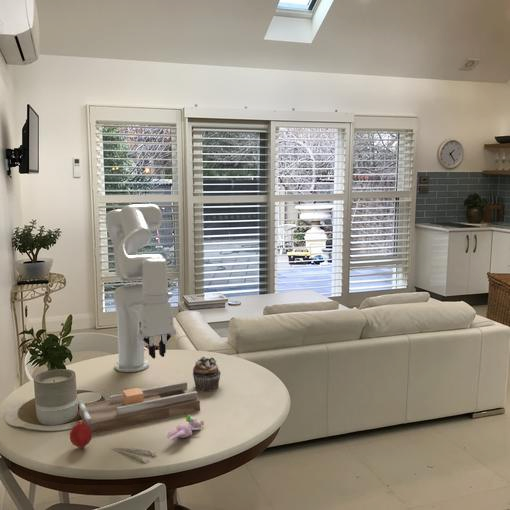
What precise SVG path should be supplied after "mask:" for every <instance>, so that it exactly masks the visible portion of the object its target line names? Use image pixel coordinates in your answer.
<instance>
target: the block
mask: <svg viewBox="0 0 510 510" xmlns="http://www.w3.org/2000/svg"><path fill="white" fill-rule="evenodd" d="M141 390H142V389H141V388H140V387H136V388H135V387H134V388H129V389H124V390H122V394H123V403H124V404H125V405H130V404H135V403H140V402H144V396H143V392H142V391H141Z"/></svg>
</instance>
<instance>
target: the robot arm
mask: <svg viewBox="0 0 510 510" xmlns="http://www.w3.org/2000/svg"><path fill="white" fill-rule="evenodd" d="M162 222H163V213H162V210H161V209H160V207H159V206H158V205H157V204H154V203H146V204H145V203H142V204H141V203H140V204H139V203H138V204H137V203H136V204H127V205H125V206H124V207H122V208H116V209H112V210H110V211H108V212H107V213H106V215H105V226H106V227H105V228H106V231H107V233H108V236H109V239H110V240H111V243H112V247H113V257H114V268H115V269H114V270H115V275H116V278H117V279H118V281H121V282H137V281H142V283H138V284H137V283H135V284H126V285H121V286H119V287H116V289H114V291H113V302H114V308H115V312H116V313H115V315H116V326H117V327H116V328H117V347H118V349H117V351H118V361H117V362H116V363H115V364H114V369H115V370H116V371H119V372H121V373H123V372H124V373H134V372H140V371H142V370H145V369H147V368H148V367H149V366H150V362H149V360H148V359H145V343H146V344H147V346H148V355H149V357H151V358H152V359H156V345H155V344H154V337H156V336H157V337H158V336H159V337H160V341H159V342H158V352H159V353H158V354H159V355H160V357H162V358H164V357H165V354H166V353H167V351H166V348H167V347H166V344H167V343H168V341H169V340H170V339H171V337H172V338H173V336H176V334H177V330H176V328H175V324H174V317H173V314H174V313H173V309H172V305H171V301H170V300H169V299H170V298H173V293H172V292H169V288H168V287H169V285H168V282H169V281H168V262H167V260H166V258H165V257H164V255H162V254H160V253H148V254H138V250H141V249H142V248H143V249H144V247H146V246H147V245H148V244H149V243H150V242H151V241H152V231H154V230H156V229H158V228H160V227H161V226H162V224H163V223H162ZM137 311H138V312H137Z"/></svg>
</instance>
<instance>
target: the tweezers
mask: <svg viewBox="0 0 510 510" xmlns="http://www.w3.org/2000/svg"><path fill="white" fill-rule="evenodd" d="M109 449H110V450H112V451H116V452H119V453H121V454H124V455H127V456H130V457H132V458H135V459H137V460H138V461H141V462H143V463H145V464H148V463H149V462H150V459H146V458H145V459H144V458H143V457H142V456H139V455H137V454H142V455H148V456H152V457H153V458H156V456H157V453H156V452H154V451H151V450H147V449H143V448H129V447H128V448H125V447H113V446H112V447H109ZM131 452H133V453H131ZM136 453H137V454H136Z"/></svg>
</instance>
